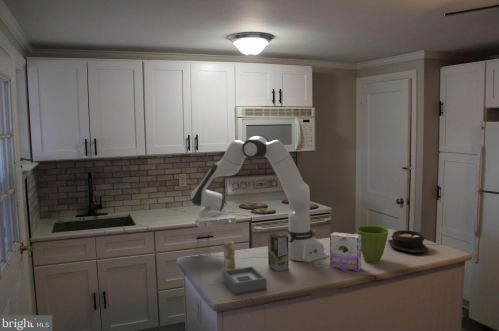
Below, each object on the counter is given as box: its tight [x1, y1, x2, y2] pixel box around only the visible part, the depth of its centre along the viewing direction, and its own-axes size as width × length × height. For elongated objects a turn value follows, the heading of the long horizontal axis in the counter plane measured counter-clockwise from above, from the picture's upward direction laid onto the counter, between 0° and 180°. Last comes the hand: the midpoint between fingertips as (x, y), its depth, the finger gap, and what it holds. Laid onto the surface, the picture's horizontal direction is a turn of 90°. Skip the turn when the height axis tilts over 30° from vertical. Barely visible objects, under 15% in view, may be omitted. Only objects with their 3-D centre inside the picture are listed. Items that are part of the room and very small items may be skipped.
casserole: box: [387, 230, 430, 254], centre depth 224 cm, size 25×19×8 cm
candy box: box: [329, 231, 362, 272], centre depth 196 cm, size 14×6×16 cm, turn 59°
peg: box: [223, 240, 236, 271], centre depth 196 cm, size 4×4×14 cm
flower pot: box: [356, 225, 389, 264], centre depth 206 cm, size 15×15×16 cm
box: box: [222, 266, 268, 296], centre depth 178 cm, size 14×16×5 cm
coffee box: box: [267, 232, 290, 272], centre depth 199 cm, size 9×6×16 cm
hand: (220, 224), depth 206 cm, fingers open, 8 cm apart
